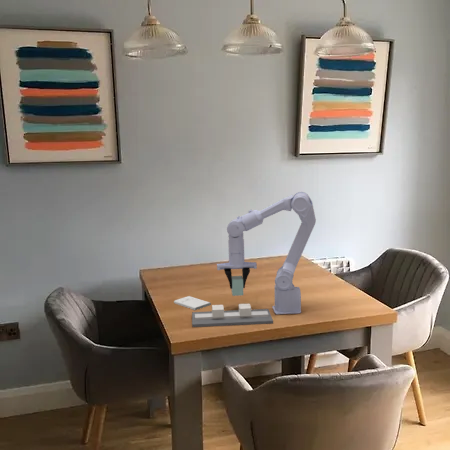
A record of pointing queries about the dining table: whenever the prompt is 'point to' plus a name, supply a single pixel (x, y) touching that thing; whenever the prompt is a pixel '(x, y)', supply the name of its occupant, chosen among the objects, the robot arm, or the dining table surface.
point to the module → (237, 285)
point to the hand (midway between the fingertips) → (237, 287)
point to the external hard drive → (192, 303)
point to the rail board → (231, 316)
